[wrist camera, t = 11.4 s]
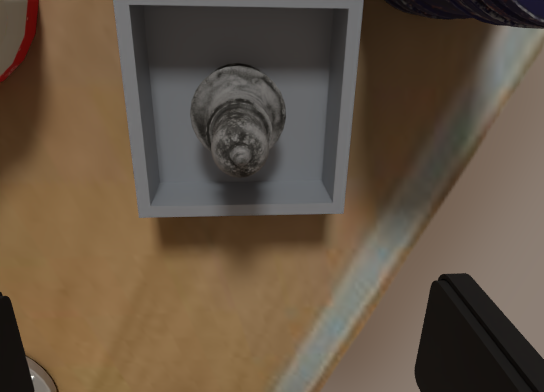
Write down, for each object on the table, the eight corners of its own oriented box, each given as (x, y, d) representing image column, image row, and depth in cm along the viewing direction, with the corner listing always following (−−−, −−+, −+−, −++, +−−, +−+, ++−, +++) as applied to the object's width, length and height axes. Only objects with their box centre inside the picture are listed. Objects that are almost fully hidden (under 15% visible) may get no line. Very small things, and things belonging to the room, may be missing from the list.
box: (328, 184, 34) (343, 213, 30) (151, 187, 33) (139, 217, 29) (343, -7, 29) (364, -7, 24) (131, -11, 28) (111, -13, 23)
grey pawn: (282, 60, 29) (312, 96, 18) (278, 144, 32) (302, 222, 21) (193, 56, 29) (169, 92, 18) (195, 143, 31) (175, 221, 20)
